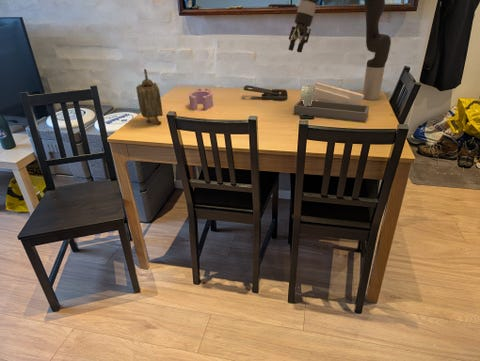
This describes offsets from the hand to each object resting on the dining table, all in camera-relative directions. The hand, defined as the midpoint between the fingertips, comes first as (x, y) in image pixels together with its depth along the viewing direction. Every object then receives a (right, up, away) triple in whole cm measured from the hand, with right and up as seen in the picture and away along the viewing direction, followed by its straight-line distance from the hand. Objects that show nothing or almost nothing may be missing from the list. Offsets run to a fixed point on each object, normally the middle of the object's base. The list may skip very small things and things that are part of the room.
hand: (294, 51), depth 160 cm
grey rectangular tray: (+20, -27, +12) cm, 35 cm away
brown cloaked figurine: (-68, -31, +9) cm, 75 cm away
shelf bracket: (+25, -21, +22) cm, 40 cm away
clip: (-46, -18, +32) cm, 59 cm away
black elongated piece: (-10, -13, +40) cm, 43 cm away
